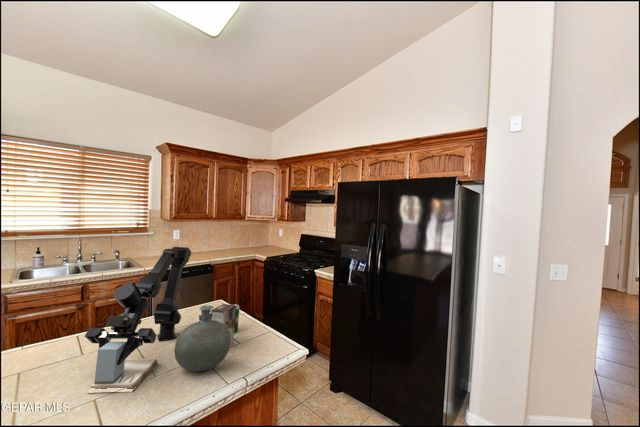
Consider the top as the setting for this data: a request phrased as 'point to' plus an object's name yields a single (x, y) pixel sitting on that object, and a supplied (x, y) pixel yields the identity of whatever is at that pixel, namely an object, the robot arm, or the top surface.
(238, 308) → the soda can
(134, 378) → the board
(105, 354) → the block
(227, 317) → the coffee box
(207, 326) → the flask
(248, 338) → the top surface
